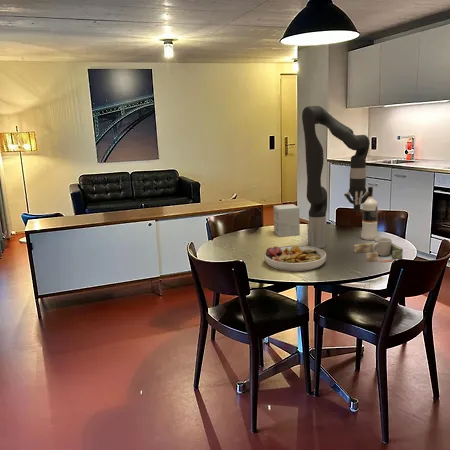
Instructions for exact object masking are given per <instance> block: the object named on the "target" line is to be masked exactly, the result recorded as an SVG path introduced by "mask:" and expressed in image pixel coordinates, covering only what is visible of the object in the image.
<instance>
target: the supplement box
mask: <svg viewBox="0 0 450 450" xmlns="http://www.w3.org/2000/svg"><path fill="white" fill-rule="evenodd" d="M300 218H301V217H300V207H299V206H297V205H296V204H294V203H291V204H290V203H289V204H279V205H273V231H274V232H273V233H274V234H275V235H276V236H278V238H284V237H295V236H296V237H297V236H300V235H301V231H300V230H301V228H300V227H301V223H300V221H301V220H300Z"/></svg>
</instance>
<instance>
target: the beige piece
mask: <svg viewBox="0 0 450 450" xmlns="http://www.w3.org/2000/svg"><path fill="white" fill-rule="evenodd" d="M374 243H375V242H370V243H359V244H354V245H353V253H355V254H358V253H359V254H360V253H366V262H367V263H372V262H378V261H379V255H378V253H377V252H374V251H373V249H372V246H373V244H374ZM375 250H376V247H375ZM370 251H371V252H370ZM389 255H391V260H392V259H393V260H401V259H403V248H402V247H400V246H398V245H396V244H394V243H393V242H391V249H390V254H389Z"/></svg>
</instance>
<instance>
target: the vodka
mask: <svg viewBox="0 0 450 450" xmlns="http://www.w3.org/2000/svg"><path fill="white" fill-rule="evenodd" d="M373 188H374V187H373V186H368V187H367V192H368V193H370V196H369V197H368V198H367V200H366V201H365V202H364V203H362V205H361V206H362V221H361V223H362V227H361V228H362V229H361V234H360V238H361V239H362V240H364V241H375V239H376V238H379V234H378V224H379V223H378V207H379V202H378V201H377V200H376V199H374V195H373V193H374V189H373Z"/></svg>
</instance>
